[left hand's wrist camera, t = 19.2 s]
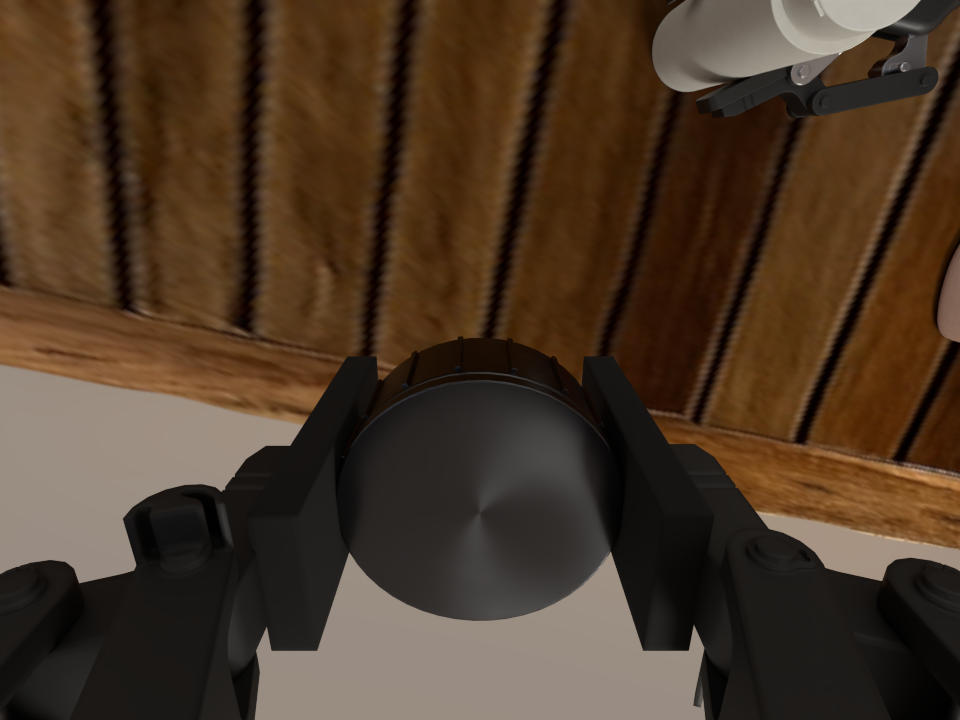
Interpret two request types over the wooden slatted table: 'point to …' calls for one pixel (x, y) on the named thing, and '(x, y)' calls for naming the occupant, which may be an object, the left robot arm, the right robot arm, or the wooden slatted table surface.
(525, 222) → the wooden slatted table surface
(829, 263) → the wooden slatted table surface
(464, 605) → the lid
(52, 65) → the wooden slatted table surface
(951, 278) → the anatomical model
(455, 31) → the wooden slatted table surface
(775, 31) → the jar
